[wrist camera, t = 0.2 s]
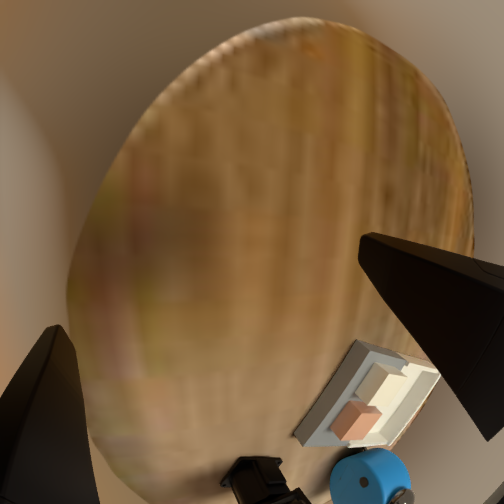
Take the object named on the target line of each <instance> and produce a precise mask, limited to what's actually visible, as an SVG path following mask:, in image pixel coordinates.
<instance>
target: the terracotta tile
mask: <svg viewBox="0 0 504 504" xmlns="http://www.w3.org/2000/svg"><path fill="white" fill-rule="evenodd" d="M381 415H382V413H381V412H380V411H379V410H378V409H377V408H376V407H375V406H367V405H366V404H365V403H364V402H362V401H351V400H349V401H348V403H347V404H346V406H345V407H344V408H343V410H342V411H341V413H340V414H339V415H338V417H337V418H336V419H335V421H334V422H333V423H332V425H331V426H330V428H331V430H332V431H333V432H334V433H335V435H336V436H337V437H338V438H339V440H340V441H345V440H363V439H364V437H365V436H366V435H367V434H368V432H369V431H370V430H371V429H372V427H373V426H374V425H375V423H376V422H377V421H378V419H379V418H380V417H381Z"/></svg>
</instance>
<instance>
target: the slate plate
mask: <svg viewBox="0 0 504 504" xmlns="http://www.w3.org/2000/svg"><path fill="white" fill-rule="evenodd" d="M375 362H377V363H381V364H386V365H390V366H394V367H396V368H397V369H398V370H400V371H401V370H402V368H403V367H404V365H405V363H406V362H407V360H405V359H404V358H403V357H401V356H400V355H399V354H397V353H396V352H395V351H392V350H388V349H385V348H382V347H379V346H375V345H372V344H369V343H366V342H363V341H360V340H356V341H355V343H354V344H353V346H352V348H351V349H350V351H349V353H348V354H347V356H346V358H345V359H344V361H343V362H342V364H341V366H340V367H339V369H338V370H337V372H336V373H335V375H334V376H333V378H332V379H331V381H330V382H329V384H328V385H327V387H326V388H325V390H324V391H323V393H322V394H321V396H320V397H319V399H318V400H317V402H316V403H315V404H314V406H313V407H312V409H311V410H310V411H309V413H308V414H307V416H306V417H305V418H304V420H303V421H302V422H301V424H300V425H299V426H298V428H297V429H296V430H295V432H294V435H295V436H296V438H297V439H298V441H299V442H300V444H301V445H302V447H320V446H346V445H347V444H348V443H349V442H350V440H345V441H340V440H339V438H338V437H337V436H336V435H335V433H334V432H333V431H332V430H331V428H330V426H331V425H332V423H333V422H334V421H335V419H336V418H337V417H338V415H339V414H340V413H341V411H342V410H343V408H344V407H345V406H346V404H347V403H348V401H349V400H351V401H362V400H361V399H360V398H359V397H358V396H357V395H356V394H355V391H356V390H357V389H358V387H359V386H360V384H361V383H362V381H363V380H364V378H365V377H366V375H367V374H368V372H369V370H370V369H371V367H372V366H373V364H374V363H375ZM362 402H363V401H362ZM375 407H377V406H375Z"/></svg>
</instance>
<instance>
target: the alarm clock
mask: <svg viewBox="0 0 504 504" xmlns="http://www.w3.org/2000/svg"><path fill="white" fill-rule="evenodd" d="M363 449H364V451H363V452H360V453H358V454H355V455H352V456H349V457H346V458H343V459H342V460H340V461H339V462H338V463H337V464H336V465H335V467H334V468H333V470H332V473H331V477H330V494H331V498H332V501H333V504H414V502H415V494H414V492H413V491H412V490H411V483H410V478H409V474H408V471H407V469H406V467H405V465H404V464H403V462H402V461H401V460H400V459H399V458H398V457H397V456H396V455H395V454H394V453H392V452H390V451H388V450H386V449H383V448H372V449H369V450H367V448H366V446H365V447H363Z"/></svg>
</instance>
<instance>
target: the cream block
mask: <svg viewBox="0 0 504 504" xmlns="http://www.w3.org/2000/svg"><path fill="white" fill-rule="evenodd" d="M407 378H408V377H407V376H406V375H405V374H403V373H402V372H401V371H400V370H398V369H397V368H396V367H394V366H390V365H386V364H381V363H377V362H375V363H374V364H373V366H372V367H371V369H370V370H369V372H368V374H367V375H366V377H365V378H364V380H363V381H362V383H361V384H360V386H359V387H358V389H357V390H356V391H355V394H356V395H357V396H358V397H359V398H360V399H361V400H362V401H363V402H364V403H365V404H366V405H367V406H385V407H388V406H389V405H390V403H391V402H392V400H393V399H394V397H395V396H396V395H397V393H398V392H399V390H400V389H401V387H402V386H403V384H404V383H405V381H406V380H407Z"/></svg>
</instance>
